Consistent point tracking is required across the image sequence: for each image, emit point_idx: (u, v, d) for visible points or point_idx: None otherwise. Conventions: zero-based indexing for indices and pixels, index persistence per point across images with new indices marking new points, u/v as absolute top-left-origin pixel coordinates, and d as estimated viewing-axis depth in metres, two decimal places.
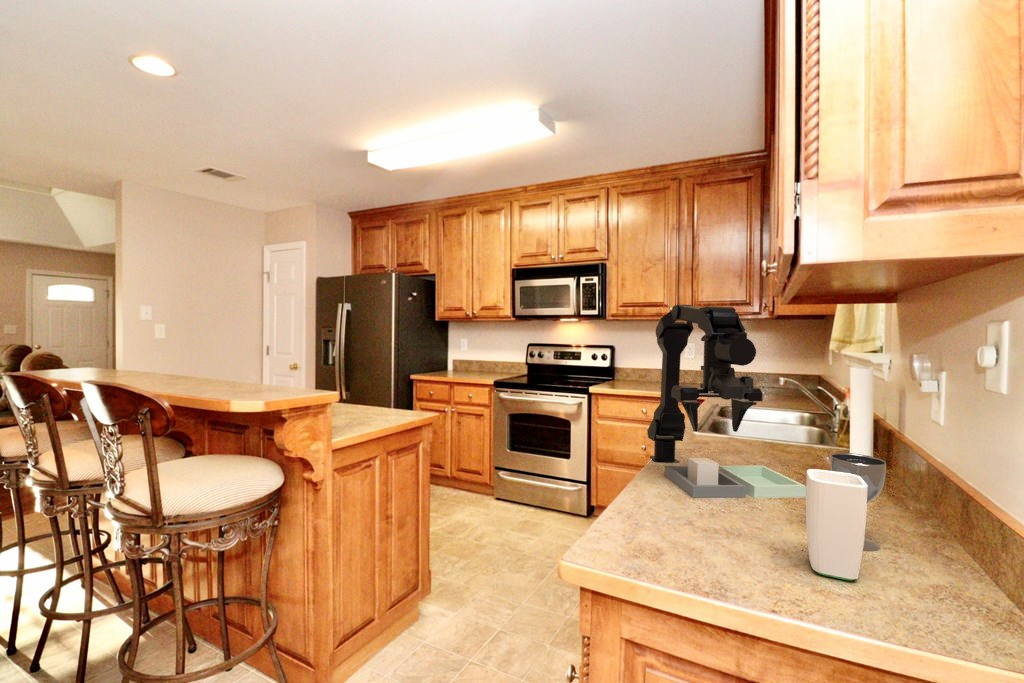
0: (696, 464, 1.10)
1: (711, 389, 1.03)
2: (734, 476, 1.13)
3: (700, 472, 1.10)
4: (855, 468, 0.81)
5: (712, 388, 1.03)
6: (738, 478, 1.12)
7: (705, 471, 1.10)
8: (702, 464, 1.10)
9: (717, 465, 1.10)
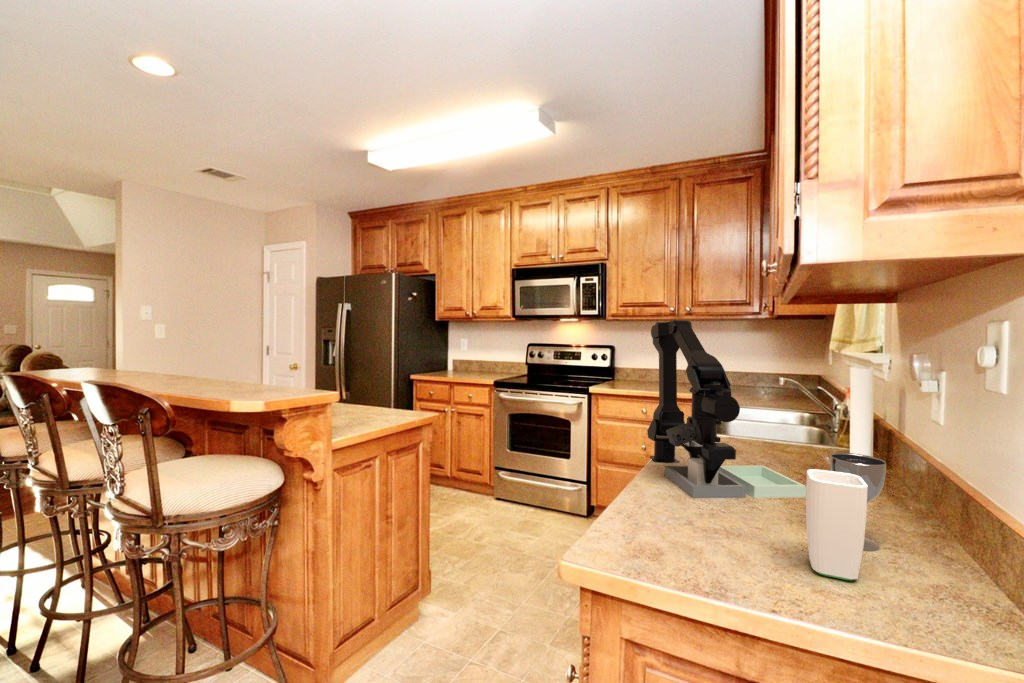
0: (696, 464, 1.10)
1: None
2: (734, 476, 1.13)
3: (700, 472, 1.10)
4: (855, 468, 0.81)
5: None
6: (738, 478, 1.12)
7: None
8: (702, 464, 1.10)
9: None
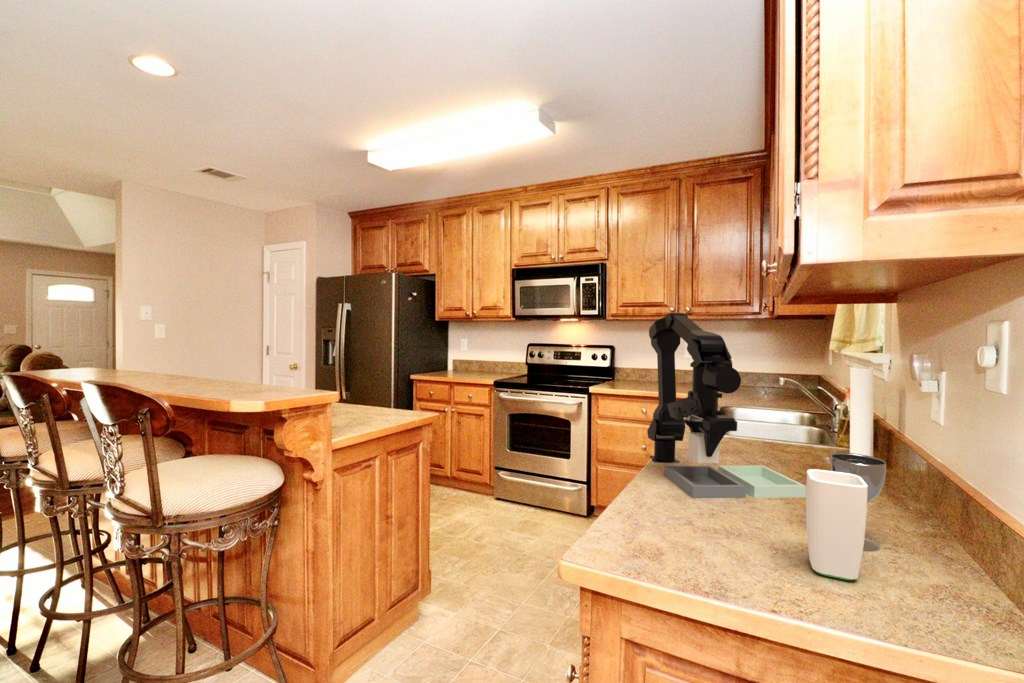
0: (697, 438, 1.10)
1: None
2: (734, 476, 1.13)
3: (701, 446, 1.10)
4: (855, 468, 0.81)
5: None
6: (738, 478, 1.12)
7: None
8: (703, 437, 1.10)
9: None
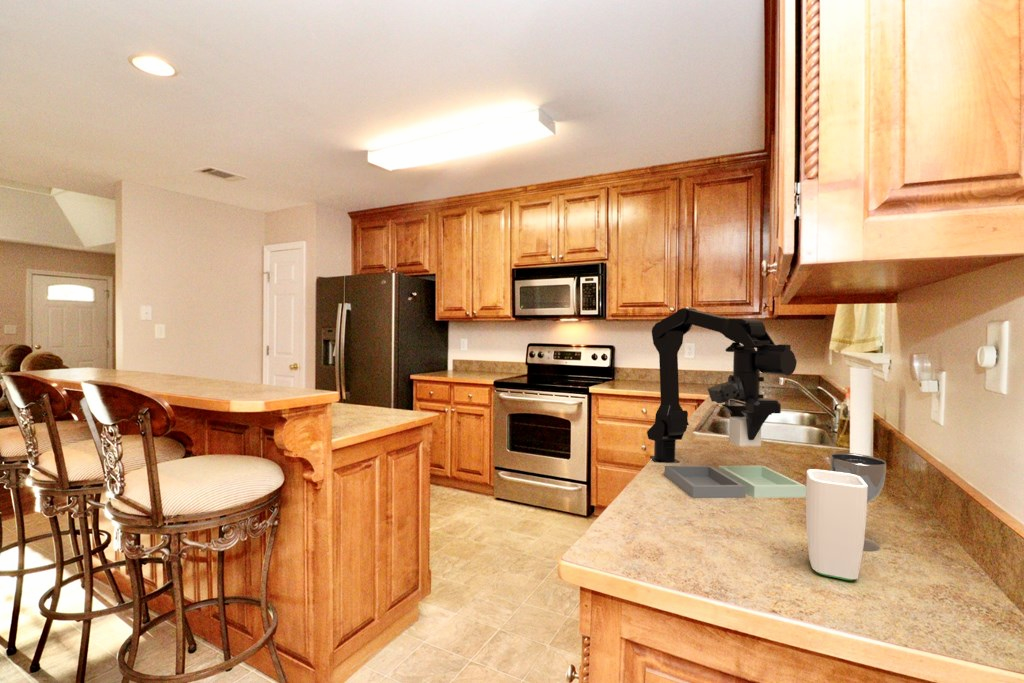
0: (738, 421, 1.11)
1: None
2: (734, 476, 1.13)
3: (742, 429, 1.10)
4: (855, 468, 0.81)
5: None
6: (738, 478, 1.12)
7: None
8: (745, 421, 1.10)
9: None
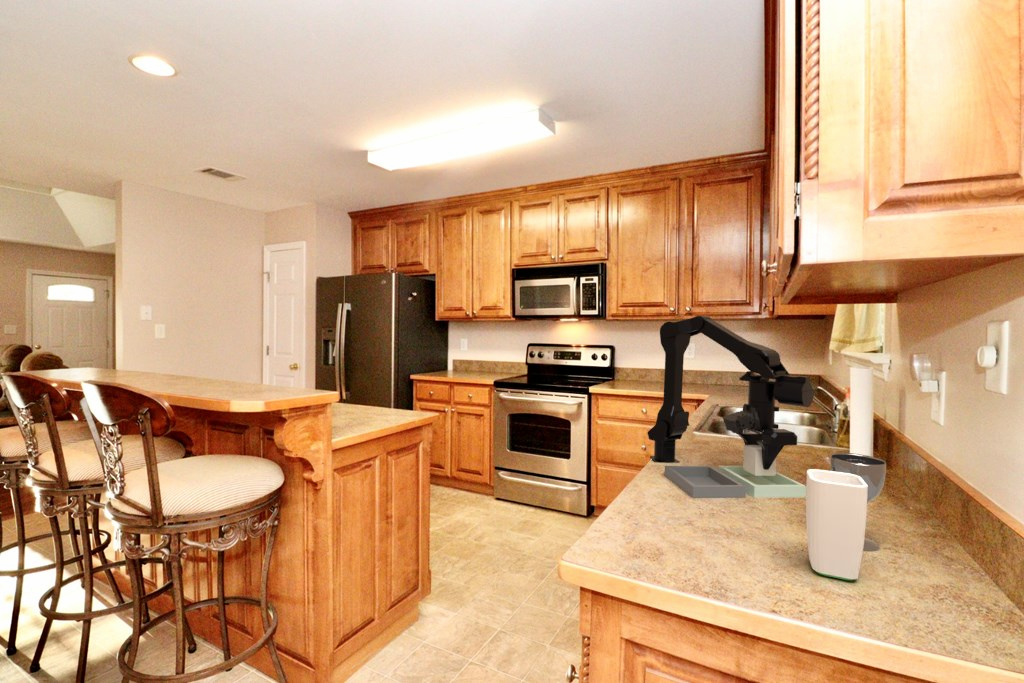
0: (754, 450, 1.11)
1: None
2: (734, 476, 1.13)
3: (758, 458, 1.11)
4: (855, 468, 0.81)
5: None
6: (738, 478, 1.12)
7: None
8: (760, 450, 1.11)
9: None
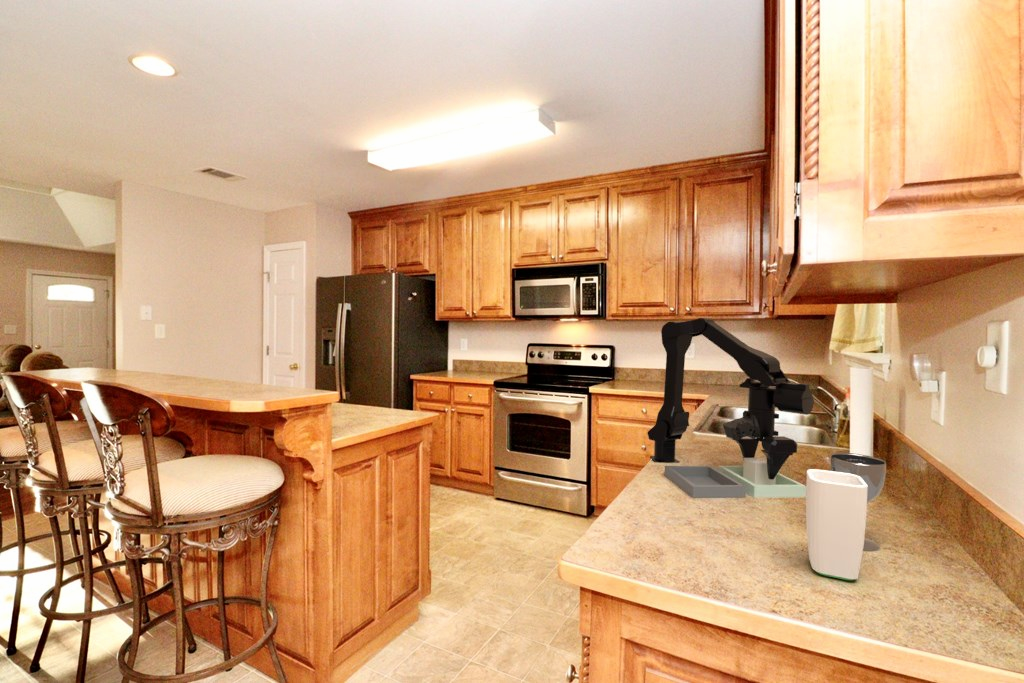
0: (754, 464, 1.11)
1: None
2: (734, 476, 1.13)
3: (757, 472, 1.11)
4: (855, 468, 0.81)
5: None
6: (738, 478, 1.12)
7: (763, 471, 1.11)
8: (760, 464, 1.11)
9: None
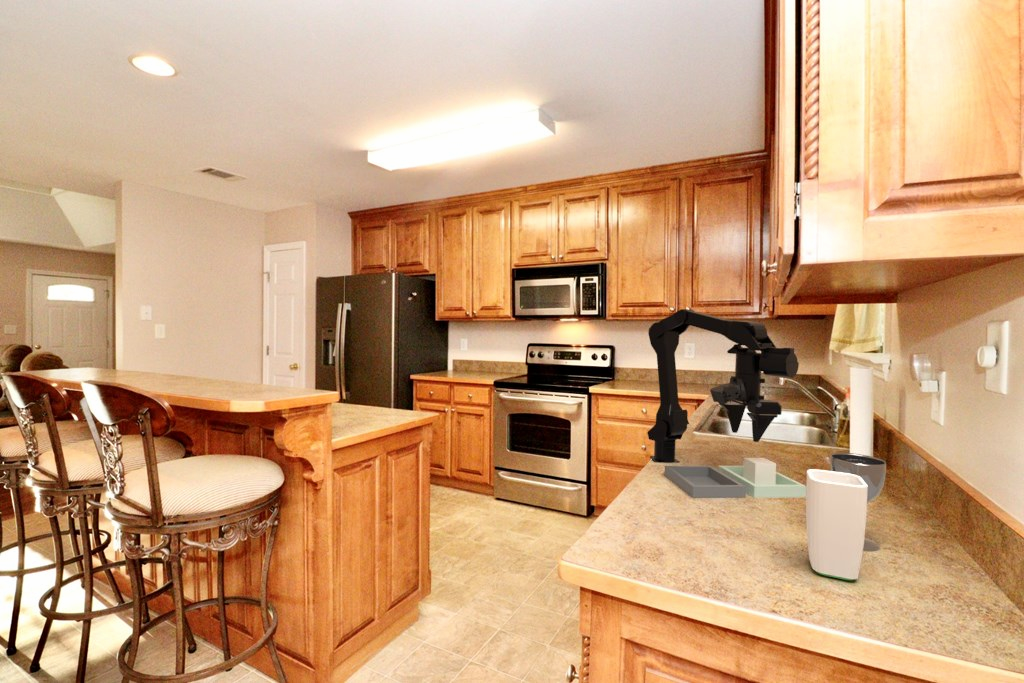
0: (754, 464, 1.11)
1: None
2: (734, 476, 1.13)
3: (757, 472, 1.11)
4: (855, 468, 0.81)
5: None
6: (738, 478, 1.12)
7: (763, 471, 1.11)
8: (760, 464, 1.11)
9: (774, 465, 1.11)
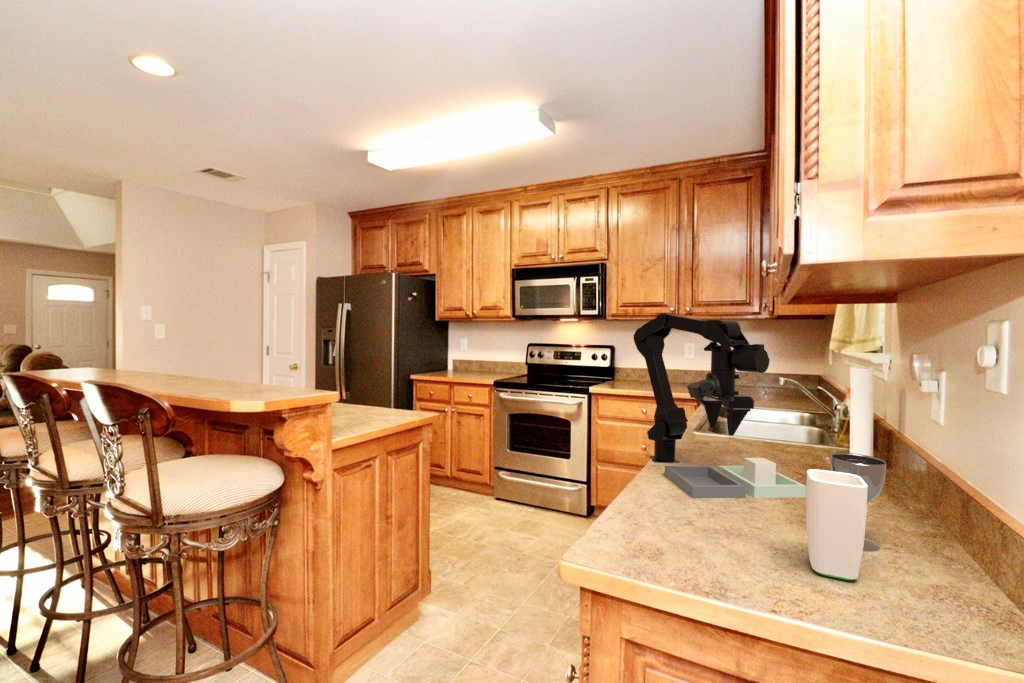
0: (754, 464, 1.11)
1: None
2: (734, 476, 1.13)
3: (757, 472, 1.11)
4: (855, 468, 0.81)
5: None
6: (738, 478, 1.12)
7: (763, 471, 1.11)
8: (760, 464, 1.11)
9: (774, 465, 1.11)
